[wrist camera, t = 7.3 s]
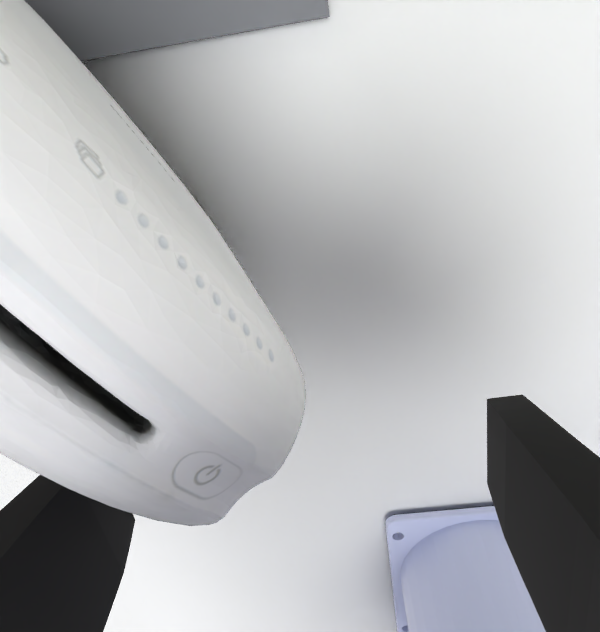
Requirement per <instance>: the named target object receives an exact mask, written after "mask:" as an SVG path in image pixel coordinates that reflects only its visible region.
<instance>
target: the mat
mask: <svg viewBox="0 0 600 632" xmlns="http://www.w3.org/2000/svg"><path fill="white" fill-rule="evenodd" d="M24 1H25V2H26V3H28V4H29V5H30V6H31V7H32V8H33V9H34V10H35V12H36V13H37V14H38V15H39V16H40V17H41V18H42V19H43V20H44V21H45V22H46V23H47V24H48V25H49V26H50V27H51V28H52V30H53V31H54V32H55V33H56V34H57V35H58V36H59V37H60V38H61V40H62V41H63V42H64V43H65V44H66V45H67V46H68V47H69V49H70V50H71V51H72V52H73V53H74V54H75V55H76V56H77V58H78V59H79V60H80V61H84V60H90V59H95V58H101V57H107V56H112V55H118V54H124V53H129V52H135V51H141V50H146V49H152V48H158V47H163V46H169V45H175V44H180V43H186V42H192V41H197V40H203V39H209V38H214V37H220V36H225V35H231V34H237V33H242V32H248V31H254V30H259V29H265V28H271V27H276V26H282V25H288V24H293V23H299V22H305V21H310V20H316V19H322V18H327V17H329V8H328V0H24Z"/></svg>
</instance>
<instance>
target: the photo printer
mask: <svg viewBox="0 0 600 632" xmlns="http://www.w3.org/2000/svg"><path fill="white" fill-rule="evenodd" d="M305 398H306V392H305V381H304V378H303V375H302V371H301V368H300V366H299V364H298V362H297V359H296V357H295V355H294V352H293V351H292V349H291V347H290V345H289V343H288V342H287V340H286V338H285V336H284V334H283V333H282V331H281V329H280V327H279V326H278V324H277V323H276V321H275V319H274V318H273V316H272V315H271V313H270V312H269V310H268V308H267V307H266V305H265V304H264V302H263V301H262V299H261V297H260V296H259V294H258V293H257V291H256V289H255V288H254V286H253V285H252V283H251V281H250V280H249V278H248V277H247V275H246V274H245V272H244V270H243V269H242V267H241V266H240V264H239V263H238V261H237V260H236V258H235V256H234V255H233V253H232V252H231V250H230V249H229V247H228V245H227V244H226V242H225V241H224V239H223V238H222V236H221V235H220V233H219V232H218V230H217V229H216V227H215V226H214V224H213V223H212V222H211V220H210V219H209V217H208V216H207V215H206V213H205V212H204V211H203V209H202V208H201V207H200V205H199V204H198V203H197V201H196V200H195V199H194V197H193V196H192V195H191V193H190V192H189V191H188V189H187V188H186V187H185V185H184V184H183V183H182V182H181V180H180V179H179V178H178V177H177V175H176V174H175V173H174V172H173V170H172V169H171V168H170V167H169V165H168V164H167V163H166V162H165V160H164V159H163V158H162V157H161V155H160V154H159V153H158V152H157V151H156V149H155V148H154V147H153V146H152V144H151V143H150V142H149V141H148V140H147V138H146V137H145V136H144V135H143V133H142V132H141V131H140V130H139V129H138V127H137V126H136V125H135V124H134V123H133V121H132V120H131V119H130V118H129V117H128V115H127V114H126V113H125V112H124V111H123V109H122V108H121V107H120V106H119V105H118V103H117V102H116V101H115V100H114V99H113V98H112V96H111V95H110V94H109V93H108V92H107V91H106V89H105V88H104V87H103V86H102V85H101V84H100V83H99V81H98V80H97V79H96V78H95V77H94V76H93V75H92V73H91V72H90V71H89V70H88V69H87V68H86V67H85V65H84V64H83V63H82V62H81V61H80V60H79V59H78V58H77V56H76V55H75V54H74V53H73V52H72V51H71V50H70V49H69V47H68V46H67V45H66V44H65V43H64V42H63V41H62V40H61V38H60V37H59V36H58V35H57V34H56V33H55V32H54V31H53V30H52V28H51V27H50V26H49V25H48V24H47V23H46V22H45V21H44V20H43V19H42V18H41V17H40V16H39V15H38V14H37V13H36V12H35V10H34V9H33V8H32V7H31V6H30V5H29V4H28V3H26V2H25V1H24V0H0V453H1V454H3V455H5V456H6V457H8V458H10V459H12V460H13V461H15V462H17V463H19V464H21V465H23V466H24V467H26V468H28V469H30V470H32V471H34V472H36V473H38V474H40V475H42V476H44V477H46V478H48V479H50V480H52V481H54V482H56V483H58V484H60V485H62V486H64V487H66V488H68V489H70V490H73V491H75V492H77V493H79V494H82V495H84V496H86V497H89V498H91V499H94V500H96V501H99V502H101V503H104V504H106V505H108V506H111V507H114V508H117V509H120V510H123V511H126V512H129V513H133V514H136V515H140V516H143V517H147V518H150V519H154V520H157V521H163V522H169V523H175V524H181V525H188V526H195V525H210V524H213V523H216V522H218V521H219V520H221V519H222V518H224V517H225V515H226V514H227V513H228V511H229V510H230V509H231V508H232V506H233V505H234V504H235V503H236V502H237V501H238V500H239V499H240V498H241V497H242V496H243V495H244V494H245V493H246V492H247V491H249V490H250V489H252V488H253V487H255V486H257V485H258V484H260V483H262V482H264V481H266V480H269V479H271V478H272V477H273V476H274V475H275V474H276V473H277V471H278V470H279V469H280V467H281V466H282V465H283V463H284V462H285V460H286V458H287V456H288V454H289V452H290V450H291V448H292V446H293V444H294V441H295V439H296V437H297V434H298V431H299V429H300V425H301V422H302V418H303V414H304V410H305Z"/></svg>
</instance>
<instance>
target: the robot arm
mask: <svg viewBox="0 0 600 632" xmlns="http://www.w3.org/2000/svg"><path fill="white" fill-rule="evenodd" d="M487 484H488V487H489V490H490V494H491V497H492V500H493V503H494V506H487V507H476V508H465V509H454V510H443V511H432V512H421V513H410V514H399V515H393V516H390V517H389V518H388V519H387V520H386V523H385V525H386V534H387V543H388V552H389V561H390V570H391V579H392V588H393V597H394V606H395V615H396V624H397V632H600V457H598V456H597V455H596V454H595V453H593V452H592V451H591V450H590V449H588V448H587V447H586V446H584V445H583V444H582V443H581V442H580V441H578V440H577V439H576V438H575V437H573V436H572V435H571V434H570V433H568V432H567V431H566V430H565V429H564V428H562V427H561V426H560V425H559V424H558V423H556V422H555V421H554V420H553V419H552V418H550V417H549V416H548V415H547V414H546V413H544V412H543V411H542V410H541V409H539V408H538V407H537V406H536V405H535V404H533V403H532V402H531V401H530V400H528V399H527V398H526V397H525V396H523V395H516V396H507V397H499V398H490V399H487ZM134 523H135V519H134V516H133V514H132V513H129V512H126V511H123V510H120V509H117V508H114V507H111V506H108V505H106V504H104V503H101V502H99V501H96V500H94V499H91V498H89V497H86V496H84V495H82V494H79V493H77V492H75V491H73V490H70V489H68V488H66V487H64V486H62V485H60V484H58V483H56V482H54V481H52V480H50V479H48V478H46V477H44V476H42V475H39V476H38V477H37V478H36V479H35V480H34V481H33V482H32V483H31V484H29V485H28V486H27V487H26V488H25V489H24V490H23V491H22V492H21V493H19V494H18V495H17V496H16V497H15V498H14V499H13V500H12V501H11V502H9V503H8V504H7V505H6V506H5V507H4V508H3V509H2V510H1V511H0V632H103V630H104V627H105V625H106V622H107V619H108V616H109V613H110V611H111V608H112V605H113V602H114V599H115V596H116V593H117V591H118V588H119V585H120V582H121V579H122V576H123V573H124V569H125V564H126V560H127V556H128V552H129V547H130V542H131V538H132V533H133V528H134ZM397 532H399V533H397Z"/></svg>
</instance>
